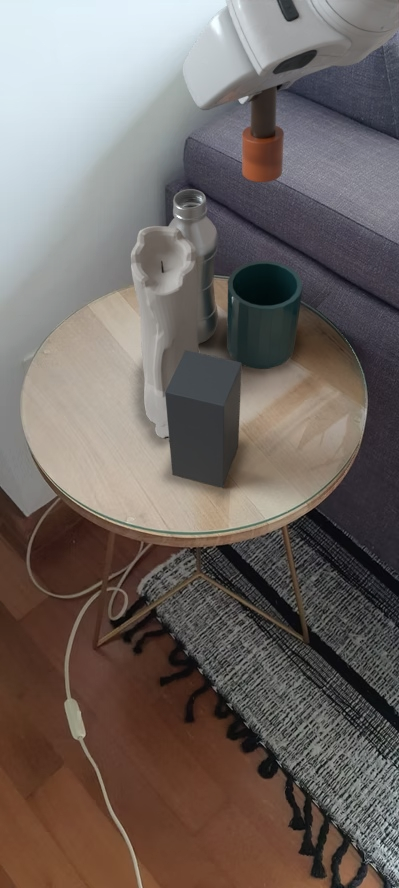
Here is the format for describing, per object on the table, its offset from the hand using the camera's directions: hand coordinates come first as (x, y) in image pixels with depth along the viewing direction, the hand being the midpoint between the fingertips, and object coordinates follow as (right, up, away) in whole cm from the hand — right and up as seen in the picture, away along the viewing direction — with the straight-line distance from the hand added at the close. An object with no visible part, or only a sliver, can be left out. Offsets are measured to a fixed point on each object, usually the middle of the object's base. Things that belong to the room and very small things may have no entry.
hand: (259, 89), depth 64 cm
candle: (-9, -27, +21) cm, 35 cm away
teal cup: (+2, -20, +26) cm, 33 cm away
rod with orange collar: (+1, -5, +6) cm, 8 cm away
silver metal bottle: (-6, -18, +28) cm, 34 cm away
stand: (-5, -35, +15) cm, 38 cm away
